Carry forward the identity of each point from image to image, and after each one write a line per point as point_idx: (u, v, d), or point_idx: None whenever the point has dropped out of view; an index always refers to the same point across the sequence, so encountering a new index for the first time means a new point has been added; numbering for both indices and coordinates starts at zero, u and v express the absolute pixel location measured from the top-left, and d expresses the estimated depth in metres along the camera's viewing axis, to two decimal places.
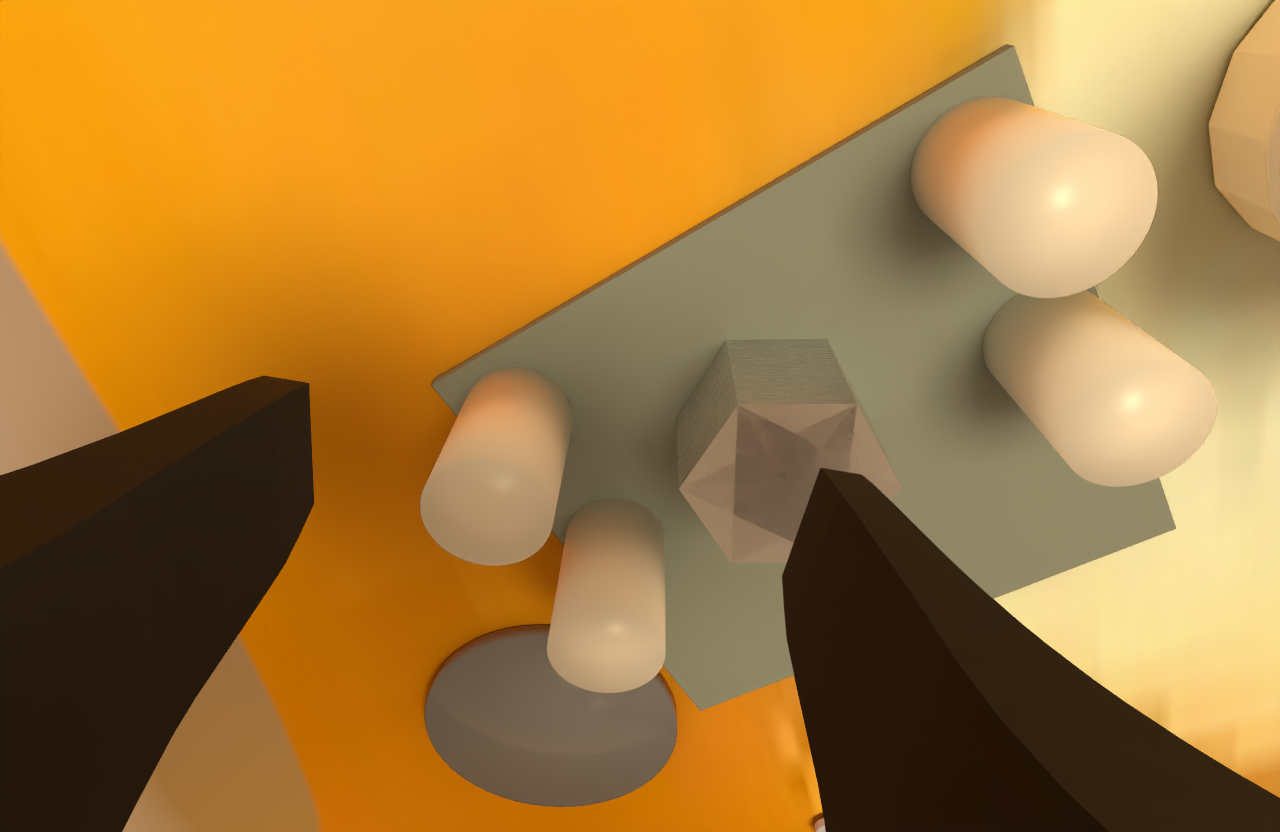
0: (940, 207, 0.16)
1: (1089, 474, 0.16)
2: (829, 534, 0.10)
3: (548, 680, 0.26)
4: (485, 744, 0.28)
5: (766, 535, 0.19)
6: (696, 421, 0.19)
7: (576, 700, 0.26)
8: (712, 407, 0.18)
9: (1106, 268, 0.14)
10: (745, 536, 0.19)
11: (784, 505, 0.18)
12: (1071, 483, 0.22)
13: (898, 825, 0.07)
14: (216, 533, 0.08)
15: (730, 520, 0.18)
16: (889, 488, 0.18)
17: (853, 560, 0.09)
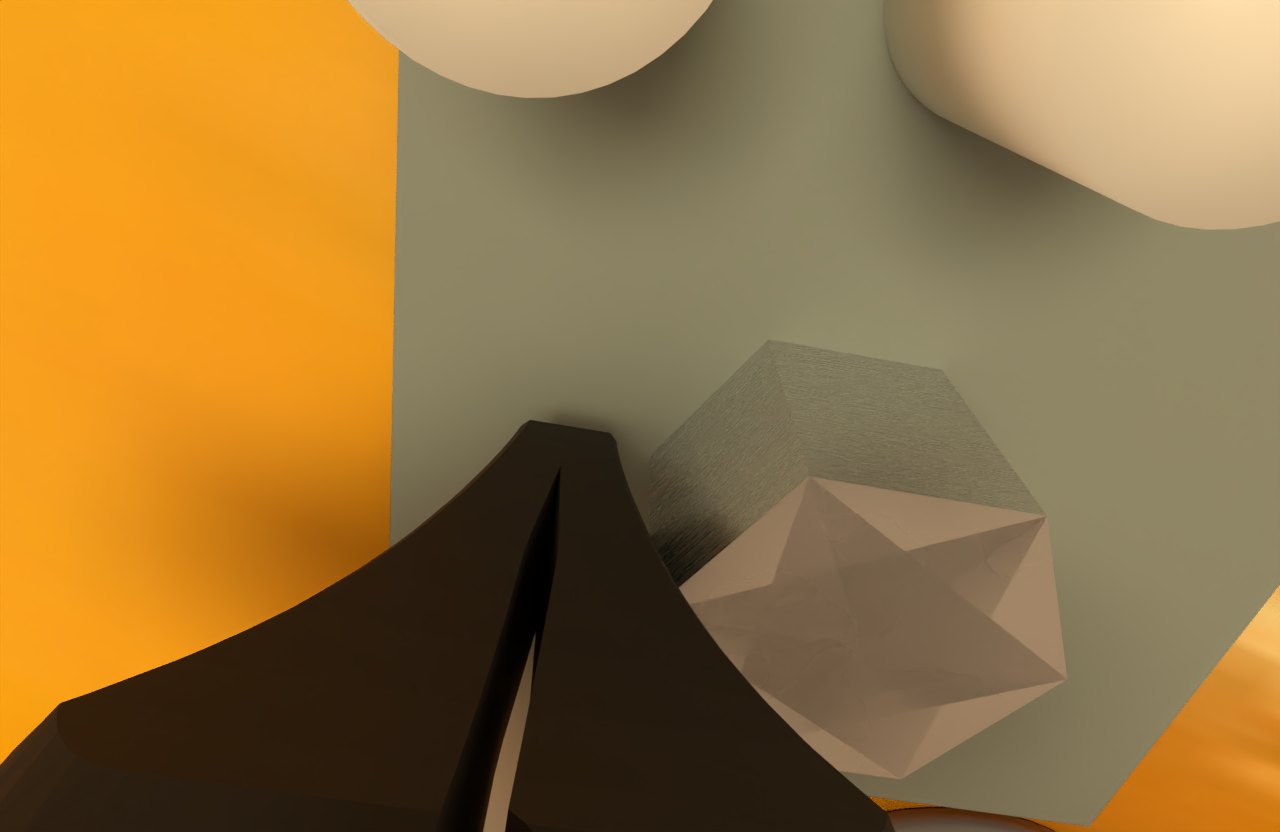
0: None
1: None
2: None
3: None
4: None
5: (908, 718, 0.10)
6: None
7: None
8: None
9: None
10: (879, 740, 0.10)
11: (882, 672, 0.09)
12: None
13: None
14: (534, 581, 0.09)
15: (831, 736, 0.10)
16: (1026, 531, 0.08)
17: (555, 513, 0.09)
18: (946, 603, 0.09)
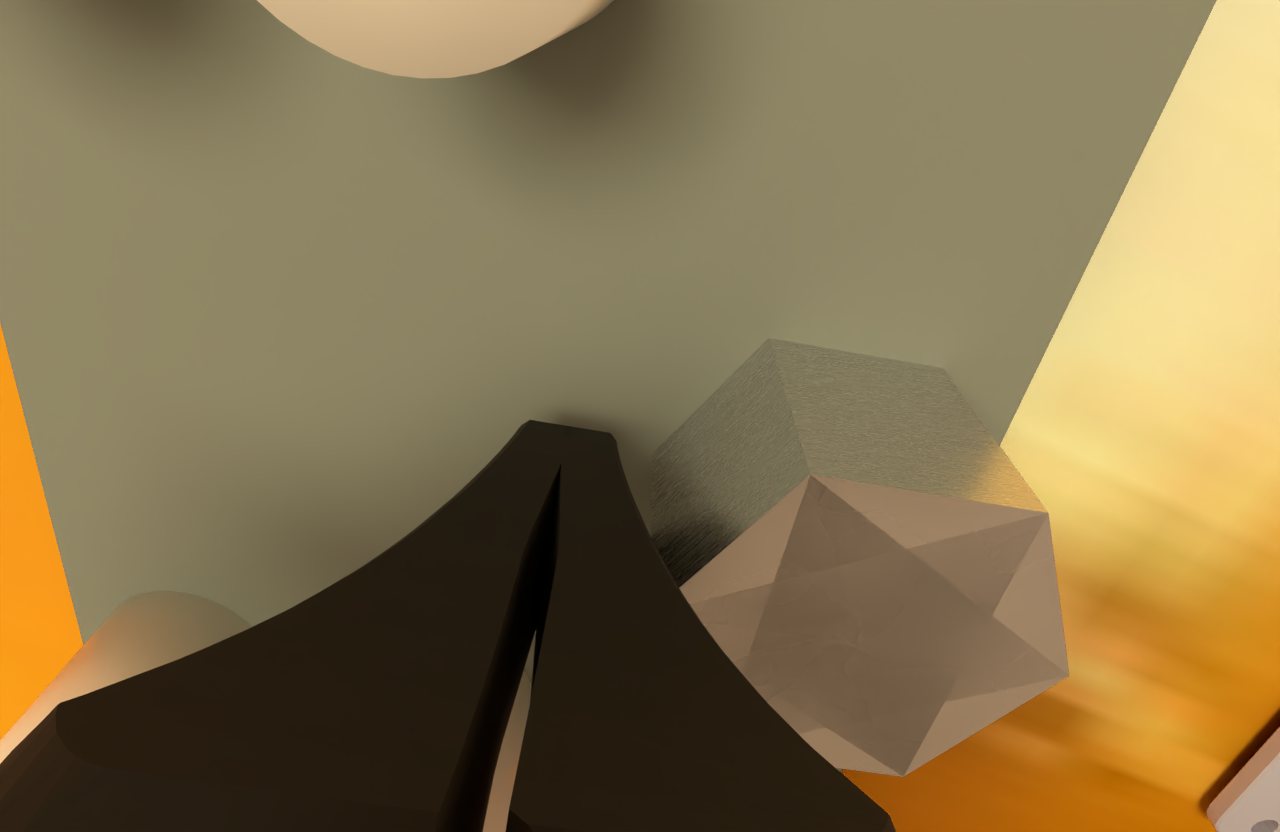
0: None
1: (498, 41, 0.05)
2: None
3: None
4: None
5: (910, 716, 0.10)
6: None
7: None
8: None
9: None
10: (881, 738, 0.10)
11: (884, 669, 0.09)
12: (923, 38, 0.09)
13: None
14: (533, 581, 0.09)
15: (833, 734, 0.10)
16: (1026, 528, 0.08)
17: (555, 513, 0.09)
18: (948, 600, 0.09)
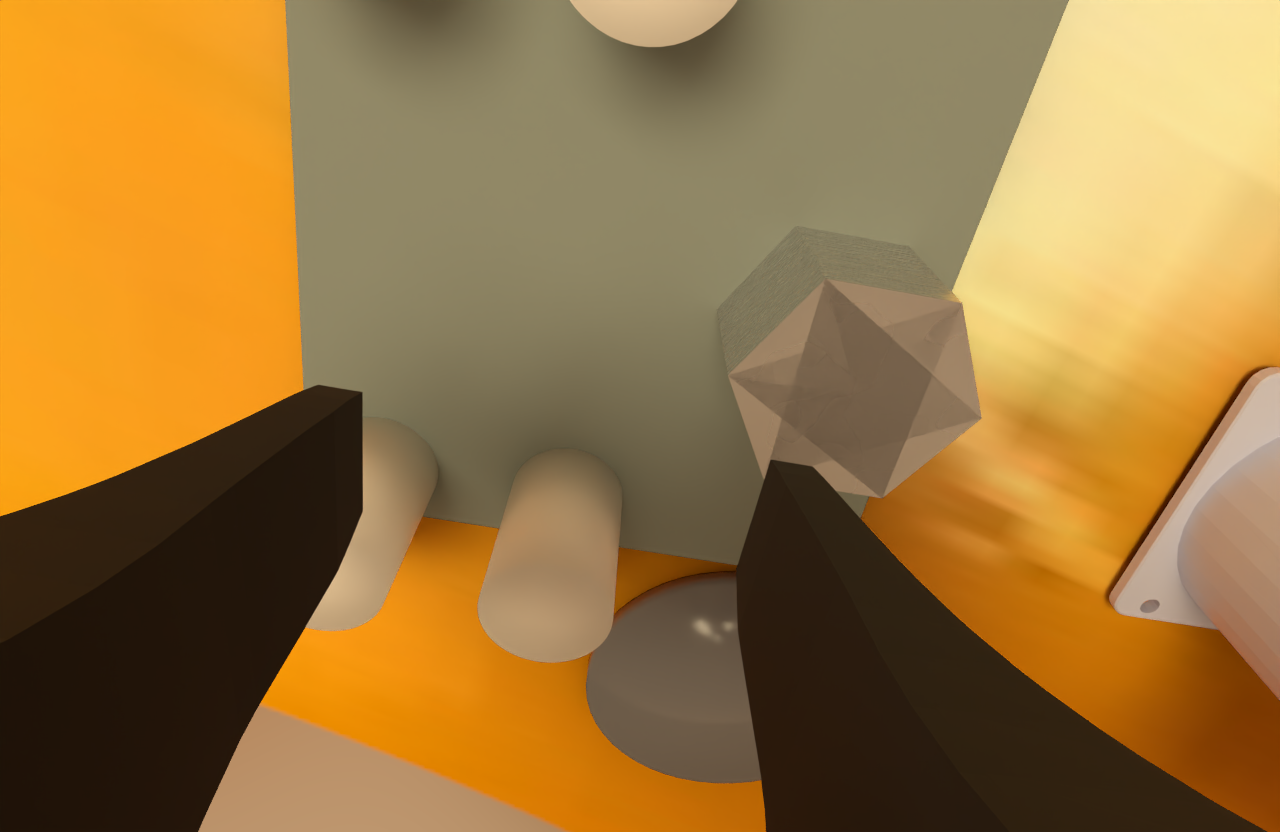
0: None
1: (686, 30, 0.11)
2: (776, 525, 0.10)
3: (670, 653, 0.23)
4: (695, 743, 0.25)
5: (885, 450, 0.16)
6: None
7: (714, 653, 0.23)
8: None
9: None
10: (868, 467, 0.16)
11: (869, 415, 0.15)
12: (892, 30, 0.15)
13: (825, 815, 0.07)
14: (281, 543, 0.09)
15: (838, 465, 0.16)
16: (949, 313, 0.14)
17: (795, 551, 0.09)
18: (906, 364, 0.15)
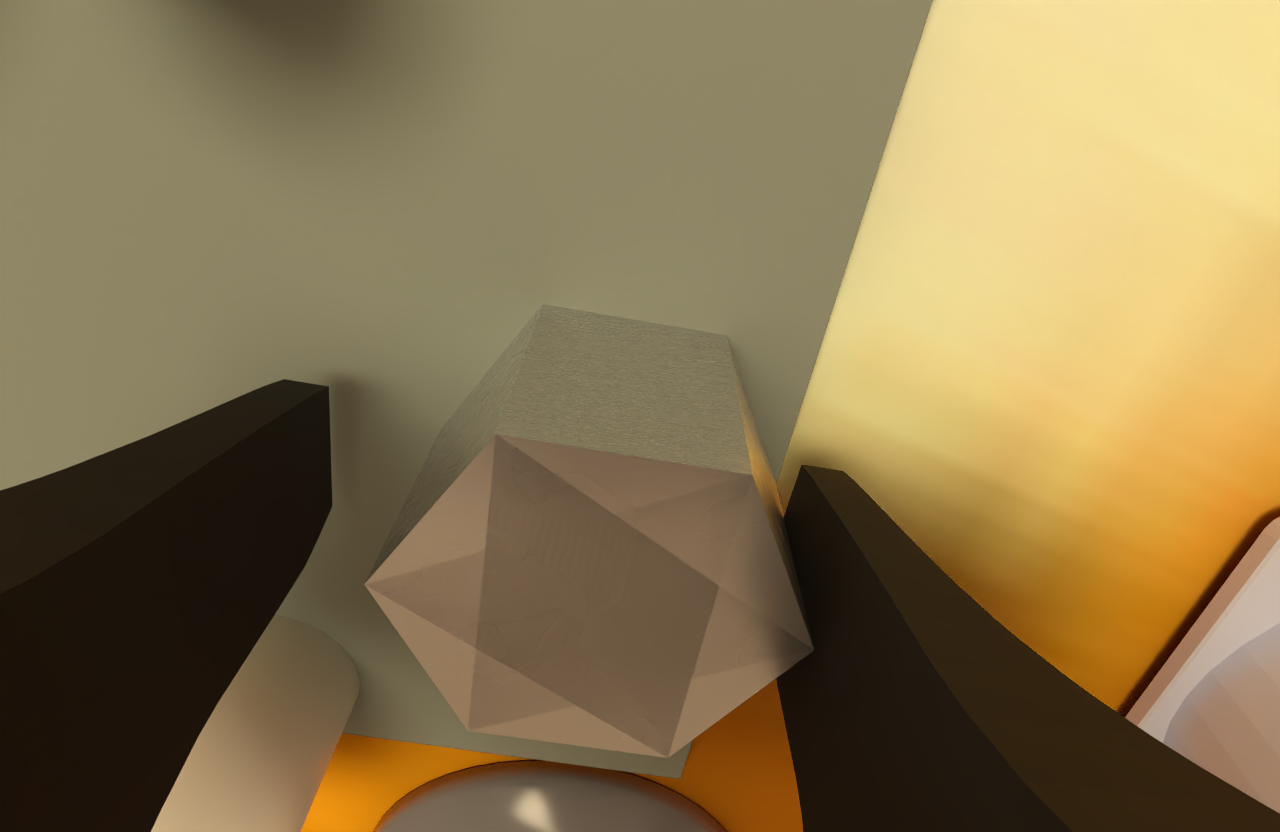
0: None
1: None
2: (809, 531, 0.10)
3: None
4: None
5: (660, 693, 0.09)
6: None
7: None
8: None
9: None
10: (635, 716, 0.10)
11: (622, 643, 0.09)
12: None
13: (871, 822, 0.07)
14: (241, 536, 0.08)
15: (586, 713, 0.10)
16: (732, 492, 0.08)
17: (831, 557, 0.09)
18: (670, 570, 0.08)
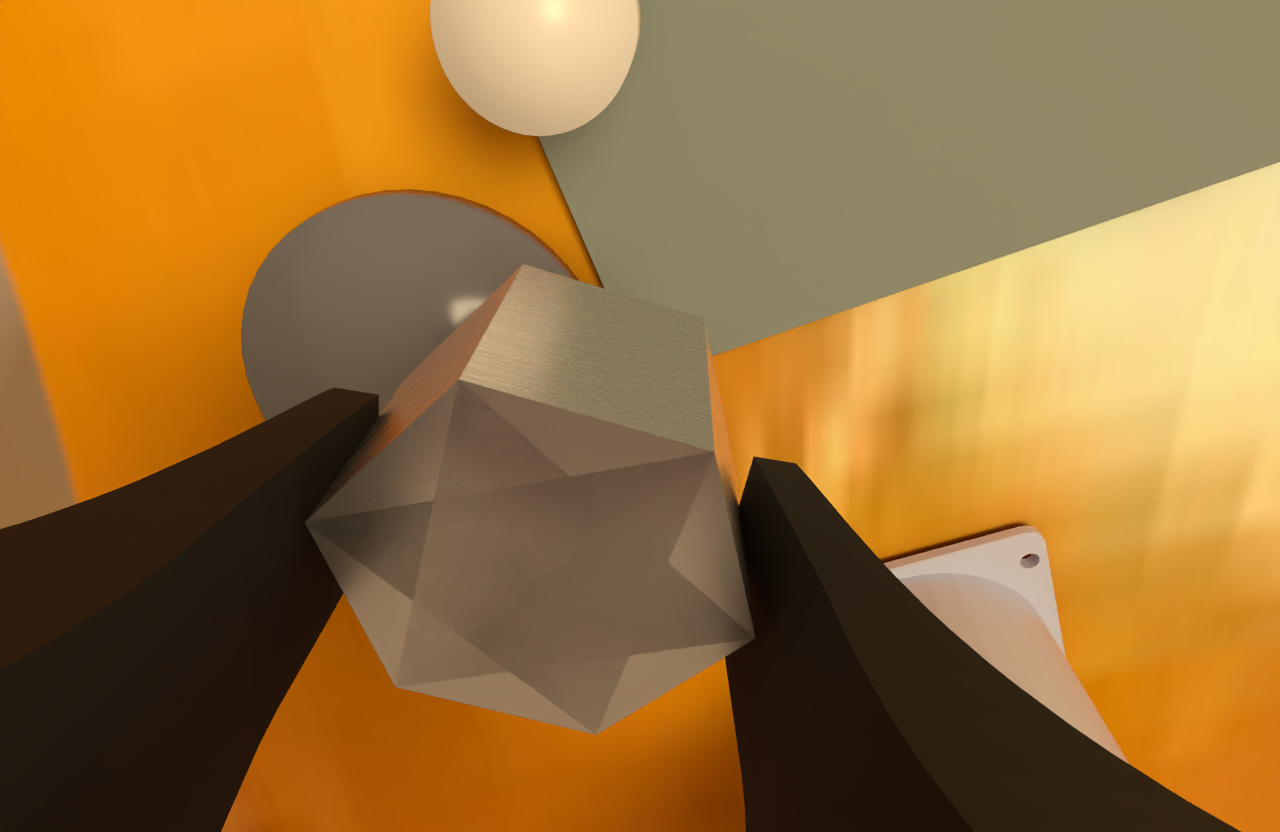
0: None
1: None
2: (757, 523, 0.10)
3: (432, 283, 0.18)
4: None
5: (596, 667, 0.09)
6: None
7: None
8: None
9: None
10: (568, 689, 0.09)
11: (563, 611, 0.09)
12: (1251, 15, 0.15)
13: (800, 812, 0.07)
14: (301, 545, 0.09)
15: (519, 680, 0.09)
16: (693, 467, 0.08)
17: (775, 548, 0.09)
18: (620, 540, 0.08)
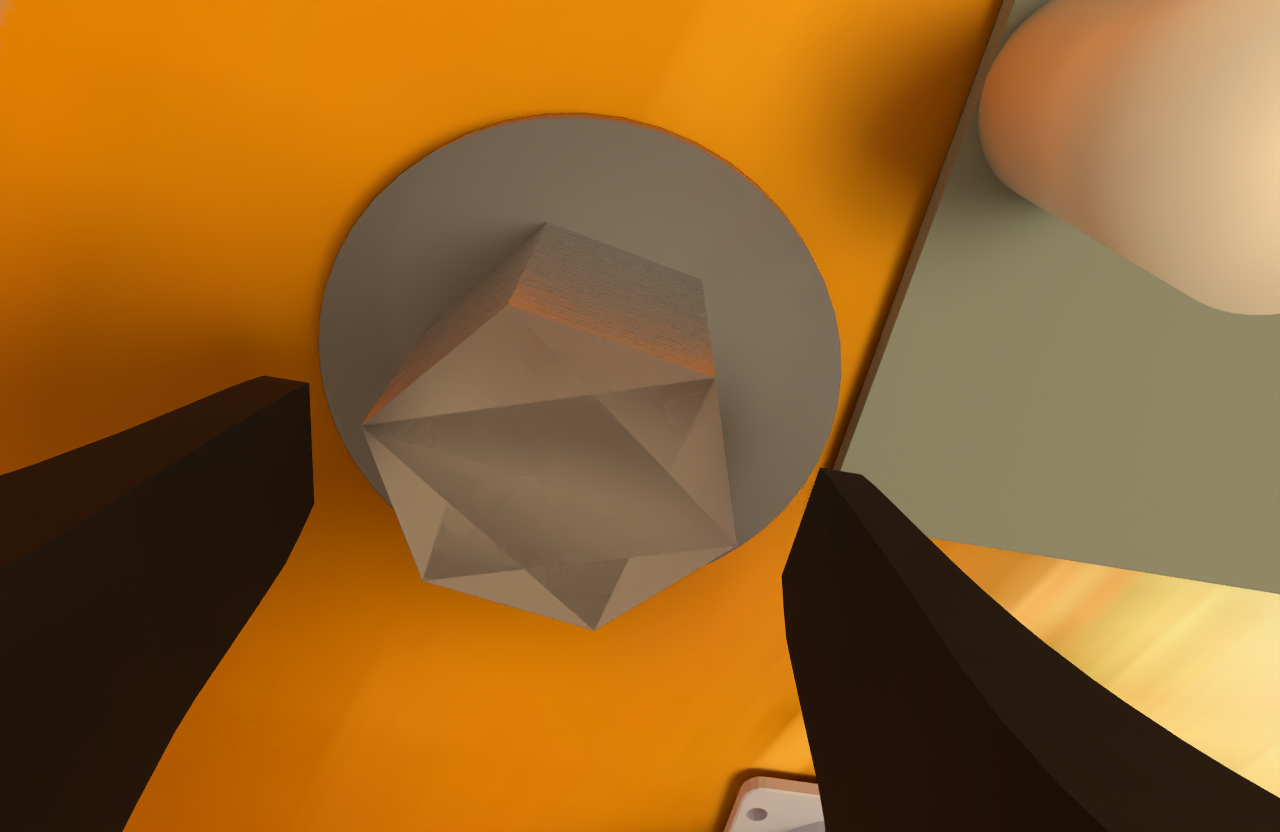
0: None
1: None
2: (829, 534, 0.10)
3: None
4: None
5: (600, 568, 0.11)
6: None
7: None
8: None
9: None
10: (574, 587, 0.11)
11: (576, 516, 0.10)
12: None
13: (898, 825, 0.07)
14: (217, 532, 0.08)
15: (531, 578, 0.11)
16: (696, 390, 0.09)
17: (853, 560, 0.09)
18: (630, 453, 0.10)
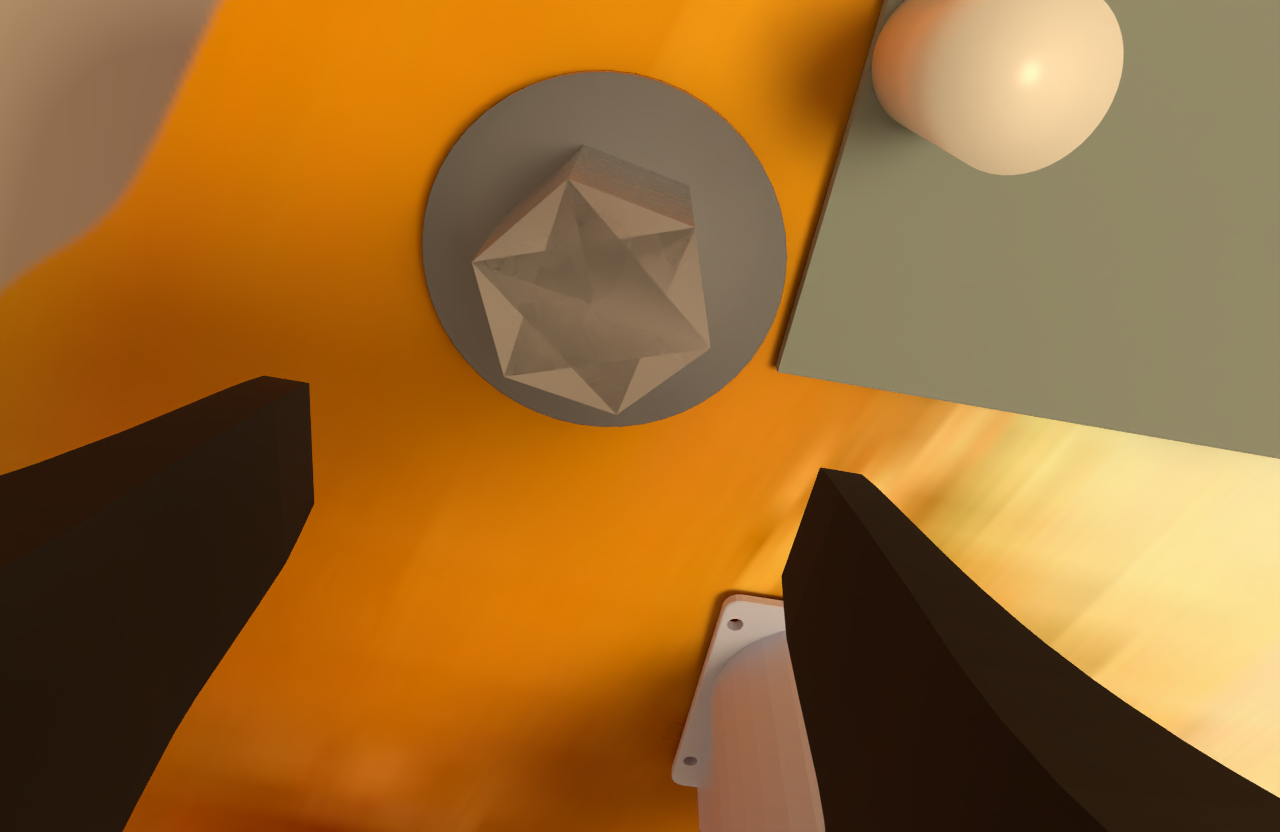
0: None
1: None
2: (829, 534, 0.10)
3: None
4: None
5: (621, 366, 0.16)
6: None
7: None
8: None
9: None
10: (604, 381, 0.17)
11: (606, 326, 0.16)
12: None
13: (898, 825, 0.07)
14: (217, 533, 0.08)
15: (576, 374, 0.17)
16: (683, 236, 0.15)
17: (853, 560, 0.09)
18: (642, 280, 0.15)
